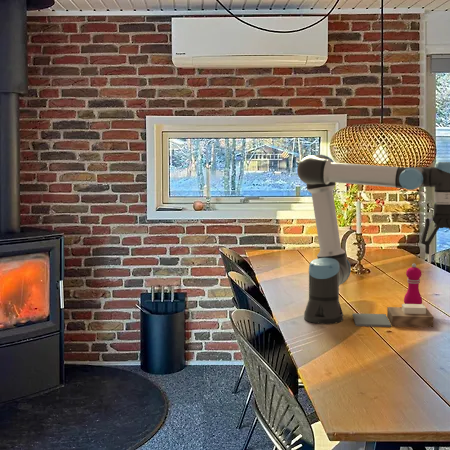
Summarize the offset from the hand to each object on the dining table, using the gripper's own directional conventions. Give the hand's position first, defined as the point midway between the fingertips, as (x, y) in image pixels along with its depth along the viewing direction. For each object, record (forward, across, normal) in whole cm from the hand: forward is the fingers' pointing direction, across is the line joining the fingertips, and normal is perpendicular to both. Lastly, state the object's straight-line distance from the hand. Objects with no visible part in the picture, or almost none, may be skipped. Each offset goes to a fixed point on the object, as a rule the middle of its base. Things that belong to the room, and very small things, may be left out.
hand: (442, 262), depth 226 cm
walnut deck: (+23, -12, 0) cm, 26 cm away
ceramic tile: (+19, -10, 0) cm, 22 cm away
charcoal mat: (+23, -26, 0) cm, 35 cm away
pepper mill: (+24, -8, +16) cm, 29 cm away
